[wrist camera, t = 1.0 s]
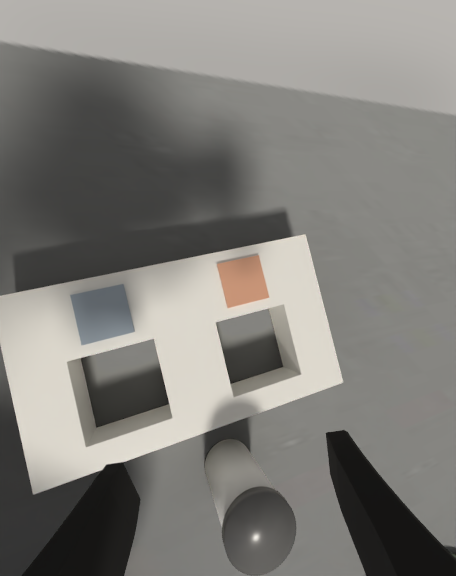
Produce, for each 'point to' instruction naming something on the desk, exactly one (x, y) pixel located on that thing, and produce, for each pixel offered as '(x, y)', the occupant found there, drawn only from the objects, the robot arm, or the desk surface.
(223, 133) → the desk surface
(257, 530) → the plug
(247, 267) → the white flat block
